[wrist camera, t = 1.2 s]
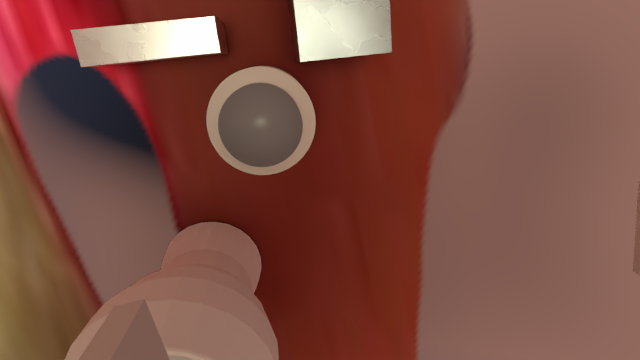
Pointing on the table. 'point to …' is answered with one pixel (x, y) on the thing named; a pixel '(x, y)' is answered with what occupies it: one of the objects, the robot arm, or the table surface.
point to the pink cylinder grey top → (261, 120)
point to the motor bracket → (210, 39)
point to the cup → (201, 298)
